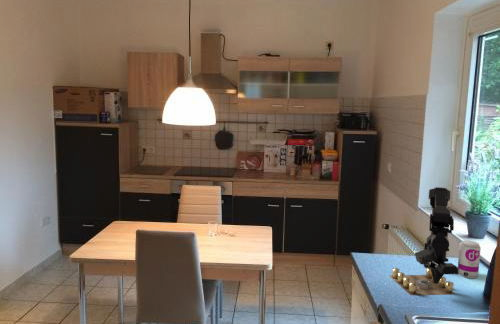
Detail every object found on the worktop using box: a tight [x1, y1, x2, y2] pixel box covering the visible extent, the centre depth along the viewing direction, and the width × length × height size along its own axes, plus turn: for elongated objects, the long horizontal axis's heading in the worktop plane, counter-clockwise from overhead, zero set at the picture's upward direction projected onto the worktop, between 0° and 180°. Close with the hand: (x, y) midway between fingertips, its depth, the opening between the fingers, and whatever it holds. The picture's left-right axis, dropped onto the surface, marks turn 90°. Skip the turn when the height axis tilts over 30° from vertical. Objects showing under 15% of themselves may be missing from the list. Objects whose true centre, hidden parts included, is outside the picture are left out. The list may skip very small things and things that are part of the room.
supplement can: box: [457, 239, 481, 279], centre depth 183 cm, size 8×8×15 cm
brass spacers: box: [391, 267, 454, 295], centre depth 169 cm, size 18×18×4 cm
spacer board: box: [388, 274, 457, 296], centre depth 170 cm, size 19×20×1 cm
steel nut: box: [416, 279, 432, 290], centre depth 168 cm, size 5×6×2 cm
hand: (435, 283), depth 159 cm, fingers closed
